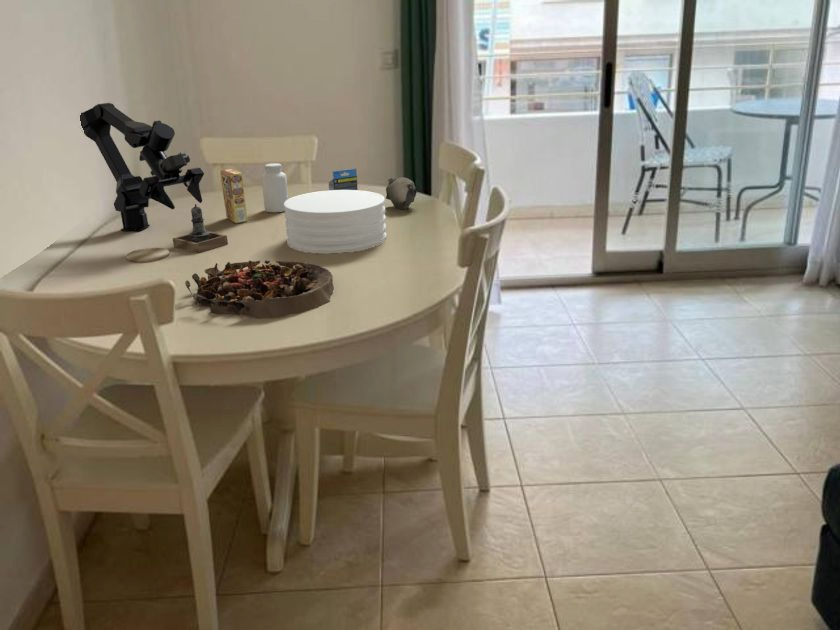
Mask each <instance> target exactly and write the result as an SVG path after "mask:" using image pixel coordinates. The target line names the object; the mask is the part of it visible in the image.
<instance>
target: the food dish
mask: <svg viewBox="0 0 840 630" xmlns="http://www.w3.org/2000/svg"><path fill="white" fill-rule="evenodd" d="M260 263H261V260H256V261H252V260H248V261H244V262H243V261H241V262H233V263H231V262H230V261H228V262H226V264H225V266H224V269H222V270H219V267H218V265H219V264H218V263H217V262H216V263H215V265H214V267H209V268H205V269H204V272H205V274H207V278H206V277H204V276H201V278H200V276H199V275H198V273H196V272H195V273H193V274H192V276H191V277H192V280H193V281H194V282H195V284H196V285H197V289H196V290H197V291H196V293H195V292H192V291H191V288H190V287H191V283H190V281H189V280H186V281H185V282H184V284H185V287H186V288H187V290H188V291H189V292H190V294H191V296H192V297H193V299H194V302H195V304H197V306H199V307H201V308H204V307H207V308H210V312H211V313H213V314H215V315H220V316H221V315H222V316H224V315H225V316H226V315H228V316H229V315H230V316H249V317H251V318H254V319H258V320H261V319H280V318H284V317H287V316H290V315H299V314H302V313H306V312H309V311H311V310H314V309H315V310H316V309H318V308H319V307H322V306H325V305H326V304H329V303H330V302H331V297H332V296H333V294H334V291H333V290H335V288H334V283H333V281H334V280H333V274H332V272H331V271H330V270H329V269H328V268H326V267H323V266H322V265H319V264H314V263H310V262H305V261H299V260H298V261H294V260H292V261H291V260H290V261H287V260H284V261H282V260H278V261H275V263H277V264H278V265H276V264H274V263H271V261H270V260H267V259H266V260H264V263H265V265H264V263H262V265H260ZM245 268H246V269H245ZM247 268H248V269H247ZM237 270H239V271H237Z"/></svg>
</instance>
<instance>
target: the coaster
mask: <svg viewBox="0 0 840 630" xmlns="http://www.w3.org/2000/svg"><path fill="white" fill-rule="evenodd" d="M169 255H170V251H169V249H168V248H164V247H163V248H162V247H149V248H148V247H147V248H146V247H145V248H140V249H136V250H135V249H134V250H132V251H130V252H128V253H127V254H126V255H125V257H126V260H127V261H128V262H131V263H151V262H154V261H160V260H163V259H165V258H168V256H169Z"/></svg>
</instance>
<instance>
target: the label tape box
mask: <svg viewBox="0 0 840 630" xmlns="http://www.w3.org/2000/svg"><path fill="white" fill-rule="evenodd" d="M331 172H332V179H331V180H330V181H328V190H359V189H358V176H357V168H351V169H349V168H348V169H341V170H333V171H331ZM343 174H345V175H343Z"/></svg>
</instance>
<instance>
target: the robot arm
mask: <svg viewBox="0 0 840 630" xmlns="http://www.w3.org/2000/svg"><path fill="white" fill-rule="evenodd" d="M79 115H80V114H79ZM80 121H81V126H82V128H83V130H84V133H83V134H84V136H85V137H87V138H89V139H90V140H91V141H93V142H94V143H95V144H96V146H97V148H98V150H99V152H100V154H101V155H102V158H103V159H104V161H105V162H106V163H105V164H106V165H107V167H108V169H109V170H110V172H111V174H112V176H113V178H114V180H115V181H116V185H115V186H116V187H115V188H116V189H115V193H116V198H115V200H114V202H113V206H114V209H115V211H116V212H120V216H121V222H122V228H120V231H121V232H124V231H125V232H126V231H127V232H129V231H130V232H141V231H144V229H147V228H148V227H150V226H151V225H150V224H149V221H148V215H147V214H148V213H147V212H146V211H145V208H149V204H150V203H149V202H150V200H153V201H155V202H158V203H159V204H162V205H163V206H165V207H167V208H169V209H171V210H175V208H176V206H175V204H174V202H173V201H172V200H171V198H170V196H169V195H168V194H167V192H166V190H165V187H171V186H175V185H181V184H183V185H184V187H186V190H187V192H188V193H189V194H190V195H191V196H192V197H193V198H194V199H195V200H196V201H197V202H198V203H199V204H201V203H202V202H203V197H202V193H201V189H200V182H202V179H203V177H204V175H205V173H204V171H203V170H202V169H201V167H198V166H197V167H194V168H193V167H191V168H188V169H186V172H185V174H184V175H180V174H181V173H182V171H183V169H182V168H183V167H184V166H185V167H186V166H187V165H188V163H190V162H191V158H190V156H189V154H188V153H187V152H186V151H181V152H179V153H177V154H174V155H170V156H167V154H166V151H168V150H169V147H170V146H171V144H172V141H173V139H174V137H175V136H176V135H175V134H176V133H175V129H174V128H173V127H171V126H170V125H168V124H166V123H163V122H162V121H161V120H153V123H152V125H149V124H148V123H145V122H139V121H136V120H133V118H132V117H129V116H128V115H126V114H125V113H124V112H122V111H121V110H119V109H118V108H117V107H116V106H115V105H114V104H113V103H111V102H104V103H97V104H95V105H94V106H93V107H92V108H89V109H88V110H85V111H82V112H81V115H80ZM111 126H112V127H113V128H115V129H116V130H117V131H119V132H120V133H121V134H122V135H124V141H125V142H126V143H127V144H128V145H129V146H130V147H131V148H133V149H137V148H142V149H141V151H140V150H139V152H140V153H139V162H142V161H145V162H146V164H147V165H148V167H149V168H150V170H151V171H150V176H146V177H144V178H142V176H140V175H136V176H135V175H133V174H132V172H131V171H130V168H129V167H128V165H127V163H126V161H125V159H124V158H123V157H124V156H122V154H121V152H120V150H119V148H118V147H117V144H116V143H115V141H114V139H113V137H112V135H111Z"/></svg>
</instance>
